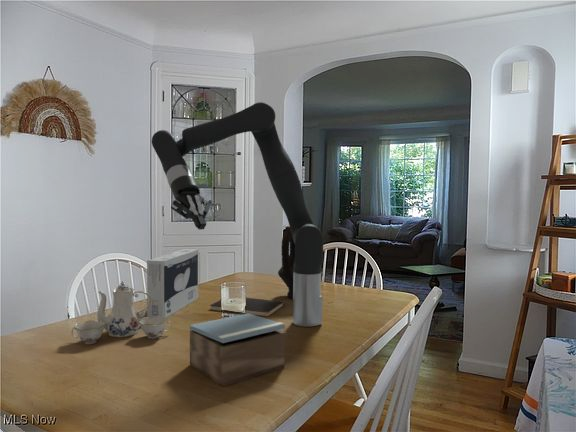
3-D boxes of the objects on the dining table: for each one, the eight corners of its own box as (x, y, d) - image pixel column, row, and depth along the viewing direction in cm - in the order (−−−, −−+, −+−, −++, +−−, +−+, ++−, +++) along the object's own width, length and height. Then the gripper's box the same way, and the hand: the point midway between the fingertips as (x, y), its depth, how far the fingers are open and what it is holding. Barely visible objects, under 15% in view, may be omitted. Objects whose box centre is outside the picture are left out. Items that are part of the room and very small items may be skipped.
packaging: (163, 319, 155) (163, 261, 153) (147, 318, 156) (146, 260, 155) (198, 298, 184) (198, 249, 183) (184, 297, 186) (184, 248, 184)
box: (189, 364, 116) (189, 330, 115) (248, 349, 127) (248, 317, 127) (222, 386, 103) (222, 348, 103) (284, 367, 115) (284, 332, 114)
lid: (189, 329, 115) (189, 324, 115) (248, 316, 126) (248, 312, 126) (222, 343, 103) (222, 337, 103) (284, 328, 114) (284, 323, 114)
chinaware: (70, 356, 125) (69, 298, 122) (72, 332, 140) (71, 280, 137) (174, 343, 136) (175, 290, 133) (165, 322, 151) (166, 274, 148)
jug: (294, 289, 203) (295, 222, 201) (330, 295, 192) (331, 224, 190) (265, 298, 186) (265, 225, 184) (302, 305, 175) (303, 228, 173)
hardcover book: (267, 318, 160) (267, 311, 160) (209, 311, 168) (209, 304, 167) (283, 307, 175) (283, 301, 175) (229, 301, 183) (229, 295, 182)
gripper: (165, 173, 129) (185, 219, 120) (206, 175, 137) (227, 218, 129) (157, 192, 133) (176, 237, 125) (198, 192, 142) (218, 234, 133)
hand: (202, 227), depth 127 cm, fingers closed
